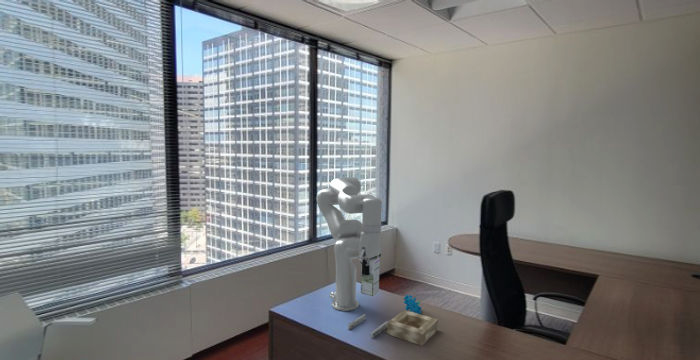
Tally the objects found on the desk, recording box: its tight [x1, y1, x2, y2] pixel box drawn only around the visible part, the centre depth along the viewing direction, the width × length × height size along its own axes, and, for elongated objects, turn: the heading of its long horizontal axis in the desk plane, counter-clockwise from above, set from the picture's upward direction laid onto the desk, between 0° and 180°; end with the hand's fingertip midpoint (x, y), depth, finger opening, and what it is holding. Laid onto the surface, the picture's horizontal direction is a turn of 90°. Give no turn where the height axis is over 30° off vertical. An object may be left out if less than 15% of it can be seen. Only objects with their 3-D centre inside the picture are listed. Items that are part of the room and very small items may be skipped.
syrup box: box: [360, 256, 381, 297], centre depth 151 cm, size 6×6×14 cm
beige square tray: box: [386, 309, 439, 346], centre depth 150 cm, size 15×15×4 cm
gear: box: [403, 294, 422, 314], centre depth 168 cm, size 11×6×10 cm
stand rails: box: [347, 313, 389, 339], centre depth 152 cm, size 12×12×2 cm
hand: (370, 272), depth 150 cm, fingers closed on syrup box, 6 cm apart
